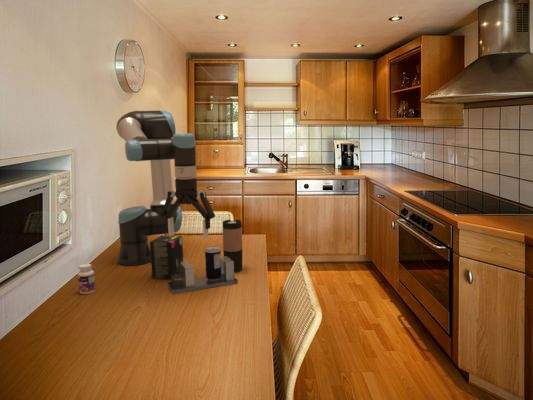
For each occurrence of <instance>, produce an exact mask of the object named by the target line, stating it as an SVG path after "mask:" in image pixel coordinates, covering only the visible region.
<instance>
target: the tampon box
mask: <svg viewBox="0 0 533 400" xmlns="http://www.w3.org/2000/svg"><path fill="white" fill-rule="evenodd" d="M149 246H150V252H151V262H150V263H151V265H150V266H151V278H152V279H162V280H163V279H165V280H173V279H172V275H171V274H175V273H181V271H180V262H184V251H183V250H184V248H183V236H182V235H181V236H180V235H173V236H171V237H170V236H169V235H160V236H158V237H156V238H155V239H152V240H150V241H149Z"/></svg>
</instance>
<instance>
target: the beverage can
mask: <svg viewBox="0 0 533 400" xmlns="http://www.w3.org/2000/svg"><path fill="white" fill-rule="evenodd" d="M221 254H222V253H221V249H220V246H218V245H217V246H216V245H211V246H206V247H205V251H204V258H205V276H206V278H207V279H208V280H210V281H217V280H219V279H220V278H221V257H222V255H221Z"/></svg>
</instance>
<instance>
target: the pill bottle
mask: <svg viewBox="0 0 533 400" xmlns="http://www.w3.org/2000/svg"><path fill="white" fill-rule="evenodd" d="M78 267H79V271H78V273H77V279H78V291H79V294H80V295H81V294H82V295H88V294H92V293H94V292H96V281H95V279H96V278H95V271H94V270H93V269H92V264H90V263H83V264H80V265H79V266H78Z"/></svg>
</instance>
